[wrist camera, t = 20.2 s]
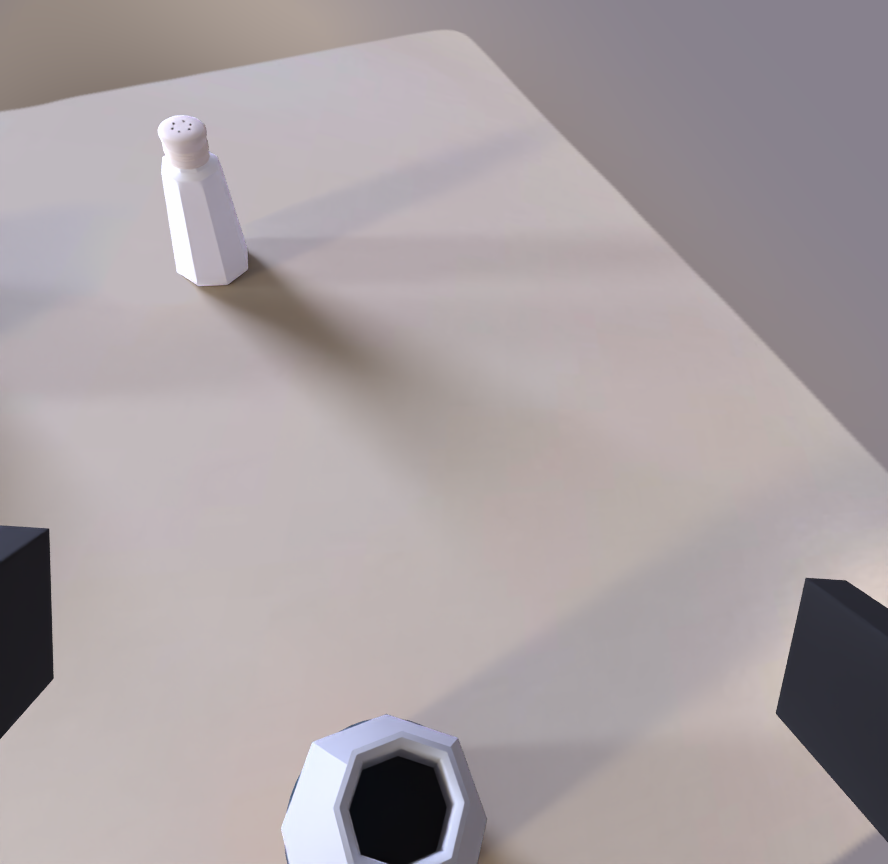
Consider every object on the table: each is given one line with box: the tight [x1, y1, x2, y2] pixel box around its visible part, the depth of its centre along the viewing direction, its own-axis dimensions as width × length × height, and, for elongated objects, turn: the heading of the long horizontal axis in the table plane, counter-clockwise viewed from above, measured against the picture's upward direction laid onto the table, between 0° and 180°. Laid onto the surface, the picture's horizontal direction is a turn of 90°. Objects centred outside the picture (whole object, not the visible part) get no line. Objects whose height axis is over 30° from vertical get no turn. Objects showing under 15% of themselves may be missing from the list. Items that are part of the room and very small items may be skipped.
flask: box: [281, 714, 487, 864], centre depth 20 cm, size 7×7×10 cm
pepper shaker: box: [158, 115, 248, 286], centre depth 45 cm, size 5×5×11 cm
